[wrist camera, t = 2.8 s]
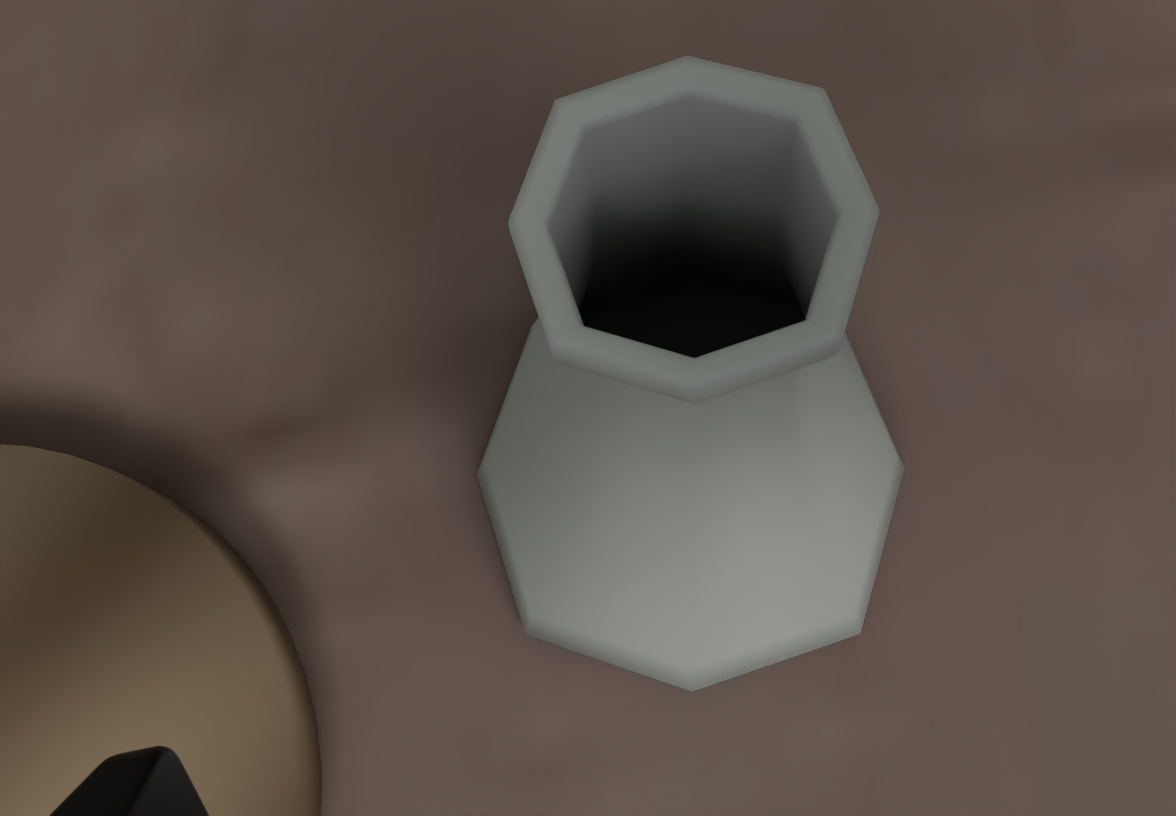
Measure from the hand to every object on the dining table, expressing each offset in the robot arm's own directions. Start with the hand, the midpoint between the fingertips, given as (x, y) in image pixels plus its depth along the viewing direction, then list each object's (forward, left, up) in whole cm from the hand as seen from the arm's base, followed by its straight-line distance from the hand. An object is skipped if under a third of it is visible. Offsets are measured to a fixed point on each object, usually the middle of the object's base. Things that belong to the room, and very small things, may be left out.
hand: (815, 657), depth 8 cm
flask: (+2, -3, -11) cm, 12 cm away
